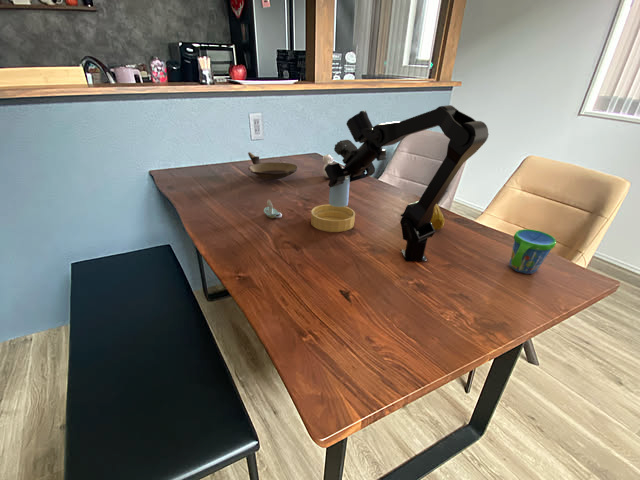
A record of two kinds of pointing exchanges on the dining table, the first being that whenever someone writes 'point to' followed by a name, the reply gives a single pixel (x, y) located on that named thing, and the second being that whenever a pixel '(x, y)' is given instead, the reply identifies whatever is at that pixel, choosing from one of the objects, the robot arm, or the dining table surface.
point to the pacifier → (271, 211)
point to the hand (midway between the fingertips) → (336, 184)
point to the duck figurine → (328, 160)
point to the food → (437, 218)
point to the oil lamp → (271, 168)
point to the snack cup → (530, 250)
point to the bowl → (332, 218)
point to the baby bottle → (340, 193)
